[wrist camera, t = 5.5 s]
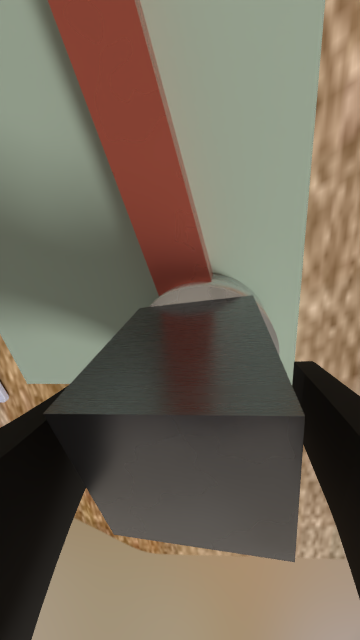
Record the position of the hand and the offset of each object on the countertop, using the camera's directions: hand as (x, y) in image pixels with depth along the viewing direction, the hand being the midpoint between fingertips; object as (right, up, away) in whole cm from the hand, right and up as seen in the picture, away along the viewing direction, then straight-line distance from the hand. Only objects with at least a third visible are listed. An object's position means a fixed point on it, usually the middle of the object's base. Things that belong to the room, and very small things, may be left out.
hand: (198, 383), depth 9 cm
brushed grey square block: (0, +1, +2) cm, 2 cm away
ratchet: (-1, +7, +2) cm, 7 cm away
